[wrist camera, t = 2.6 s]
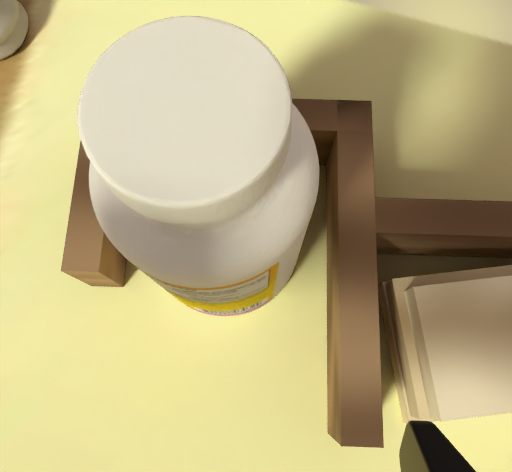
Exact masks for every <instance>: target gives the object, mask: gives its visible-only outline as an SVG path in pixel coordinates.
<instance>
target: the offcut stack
mask: <svg viewBox="0 0 512 472" xmlns="http://www.w3.org/2000/svg"><path fill="white" fill-rule="evenodd" d="M378 292H379V298H380V303H381V308H382V313H383V319H384V324H385V329H386V335H387V340H388V345H389V351H390V356H391V361H392V367H393V372H394V377H395V383H396V388H397V393H398V399H399V404H400V409H401V415H402V420H403V422H404V423H408V422H409V421H411V420H419V421H430V422H432V421H448V420H456V419H465V418H473V417H481V416H489V415H497V414H505V413H512V265H506V266H498V267H489V268H481V269H472V270H463V271H455V272H446V273H437V274H429V275H420V276H412V277H403V278H394V279H391V280H390V281H385V282H381V283H380V284H378Z"/></svg>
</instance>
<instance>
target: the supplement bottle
mask: <svg viewBox="0 0 512 472" xmlns="http://www.w3.org/2000/svg"><path fill="white" fill-rule="evenodd" d="M78 128H79V134H80V138H81V141H82V144H83V147H84V150H85V152H86V155H87V157H88V158H89V160H90V167H89V190H90V197H91V201H92V205H93V209H94V211H95V214H96V217H97V220H98V222H99V224H100V226H101V228H102V229H103V231H104V233H105V234H106V236H107V237H108V239H109V240H110V242H111V243H112V244H113V245H114V246H115V247H116V249H117V250H118V251H119V252H120V253H121V254H122V255H123V256H124V257H125V258H126V259H127V260H129V261H130V262H131V263H132V264H133V265H135V266H136V267H137V268H138V269H140V270H141V271H143V272H144V273H145V274H146V275H148V276H149V277H150V278H151V279H153V280H154V281H155V282H156V283H157V284H159V285H160V286H161V287H163V288H164V289H165V290H166V291H168V292H169V293H170V294H172V295H173V296H174V297H175V298H177V299H178V300H179V301H181V302H182V303H184V304H185V305H187V306H188V307H190V308H192V309H194V310H197V311H199V312H202V313H205V314H209V315H215V316H236V315H242V314H246V313H249V312H252V311H254V310H256V309H259V308H260V307H262V306H264V305H266V304H267V303H268V302H270V301H271V300H272V299H273V298H275V297H276V296H277V295H278V294H279V293H280V292H281V290H282V289H283V288H284V287H285V285H286V284H287V282H288V281H289V279H290V277H291V275H292V273H293V270H294V268H295V265H296V263H297V260H298V256H299V253H300V250H301V246H302V243H303V240H304V237H305V233H306V230H307V227H308V224H309V221H310V219H311V216H312V212H313V209H314V206H315V203H316V198H317V194H318V187H319V160H318V155H317V150H316V145H315V142H314V139H313V136H312V134H311V131H310V129H309V127H308V125H307V123H306V121H305V120H304V118H303V116H302V115H301V113H300V112H299V111H298V109H297V108H296V107H295V105H294V104H293V103H292V97H291V91H290V86H289V83H288V80H287V77H286V75H285V73H284V70H283V68H282V67H281V65H280V63H279V61H278V60H277V58H276V57H275V56H274V55H273V53H272V52H271V51H270V50H269V48H268V47H267V46H266V45H265V44H264V43H262V42H261V41H260V40H259V39H258V38H256V37H255V36H254V35H252V34H251V33H249V32H247V31H245V30H244V29H242V28H240V27H238V26H235V25H233V24H230V23H227V22H224V21H221V20H217V19H212V18H208V17H200V16H180V17H171V18H165V19H162V20H158V21H154V22H151V23H148V24H145V25H143V26H141V27H139V28H137V29H135V30H133V31H131V32H129V33H128V34H126V35H124V36H122V37H121V38H120V39H118V40H117V41H116V42H115V43H114V44H112V45H111V46H110V47H109V48H108V49H107V50H106V51H105V52H104V53H103V54H102V55H101V56H100V57H99V59H98V60H97V61H96V63H95V64H94V65H93V67H92V68H91V70H90V72H89V74H88V76H87V78H86V80H85V83H84V86H83V88H82V91H81V94H80V99H79V104H78Z"/></svg>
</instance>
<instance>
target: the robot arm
mask: <svg viewBox="0 0 512 472" xmlns="http://www.w3.org/2000/svg"><path fill="white" fill-rule="evenodd" d="M399 457H400V467H401V472H476V471H475V470H474V469H473V468H472V467H471V465H470V464H469V463H468V462H467V461H466V460H465V459H464V457H463V456H462V455H461V454H460V453H459V452H458V451H457V449H456V448H455V447H454V446H453V445H452V444H451V443H450V441H449V440H448V439H447V438H446V437H445V436H444V435H443V433H442V432H441V431H440V430H439V429H438V428H437V427H436V425H435V424H433V423H432V422H430V421H419V420H411V421H409V422H408V423H407V425H406V428H405V432H404V436H403V439H402V443H401V447H400V455H399Z"/></svg>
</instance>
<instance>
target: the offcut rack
mask: <svg viewBox="0 0 512 472" xmlns="http://www.w3.org/2000/svg"><path fill="white" fill-rule="evenodd" d="M292 103H293V104H294V105H295V107H296V108H297V109H298V111H299V112H300V113H301V115H302V116H303V118H304V120H305V121H306V123H307V125H308V127H309V129H310V131H311V134H312V136H313V139H314V142H315V145H316V150H317V155H318V160H319V165H326V204H327V384H328V434H329V435H330V436H331V437H332V438H334V439H335V440H336V441H337V442H338V443H339V444H340V445H341V446H354V447H380V448H384V446H383V418H382V389H381V361H380V333H379V304H378V276H377V254H402V255H433V256H464V257H494V258H512V202H505V201H472V200H439V199H407V198H375V191H374V163H373V135H372V106H371V101H353V100H316V99H292ZM89 167H90V160H89V158H88V157H87V155H86V152H85V150H84V147H83V144H82V141H81V142H80V148H79V155H78V162H77V168H76V175H75V181H74V188H73V195H72V201H71V208H70V214H69V221H68V228H67V234H66V241H65V248H64V254H63V261H62V267H61V271H62V272H64V273H66V274H68V275H70V276H72V277H75V278H77V279H79V280H81V281H83V282H85V283H87V284H89V285H91V286H110V287H123V286H124V277H125V268H126V258H125V257H124V256H123V255H122V254H121V253H120V252H119V251H118V250H117V249H116V247H115V246H114V245H113V244H112V243H111V242H110V240H109V239H108V237H107V236H106V234H105V233H104V231H103V229H102V228H101V226H100V224H99V222H98V220H97V217H96V214H95V211H94V209H93V205H92V201H91V197H90V190H89Z"/></svg>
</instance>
